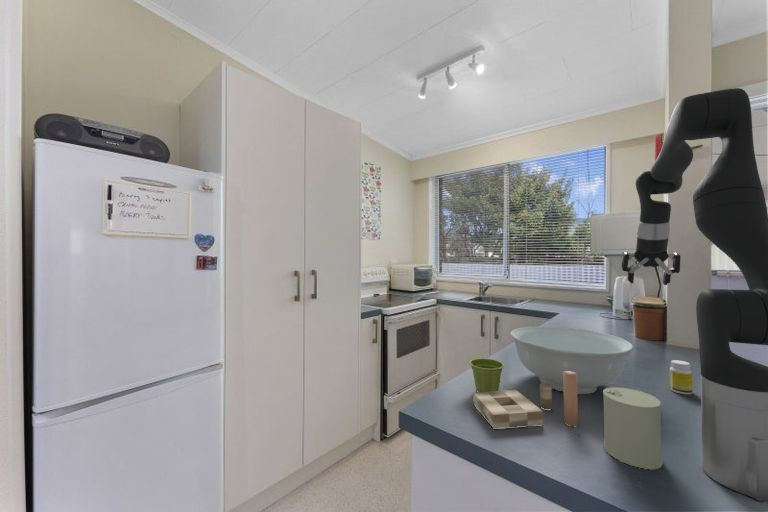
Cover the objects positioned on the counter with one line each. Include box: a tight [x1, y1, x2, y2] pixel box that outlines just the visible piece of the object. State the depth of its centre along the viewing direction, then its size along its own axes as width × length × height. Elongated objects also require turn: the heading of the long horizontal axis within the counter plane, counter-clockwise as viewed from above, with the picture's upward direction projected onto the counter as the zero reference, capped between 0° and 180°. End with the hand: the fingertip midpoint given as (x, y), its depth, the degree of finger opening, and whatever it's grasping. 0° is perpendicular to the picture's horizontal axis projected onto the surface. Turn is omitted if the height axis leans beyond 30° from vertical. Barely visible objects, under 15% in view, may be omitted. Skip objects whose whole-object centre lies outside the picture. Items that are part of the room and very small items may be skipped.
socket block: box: [472, 389, 544, 428], centre depth 79 cm, size 12×12×4 cm
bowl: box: [509, 326, 634, 395], centre depth 98 cm, size 32×32×15 cm
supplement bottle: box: [669, 359, 693, 395], centre depth 91 cm, size 5×5×8 cm
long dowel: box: [563, 371, 579, 427], centre depth 74 cm, size 3×3×12 cm
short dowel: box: [539, 382, 553, 410], centre depth 82 cm, size 3×3×6 cm
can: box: [602, 386, 664, 471], centre depth 63 cm, size 9×9×12 cm
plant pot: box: [469, 357, 505, 392], centre depth 92 cm, size 9×9×9 cm
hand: (647, 283), depth 103 cm, fingers open, 8 cm apart
